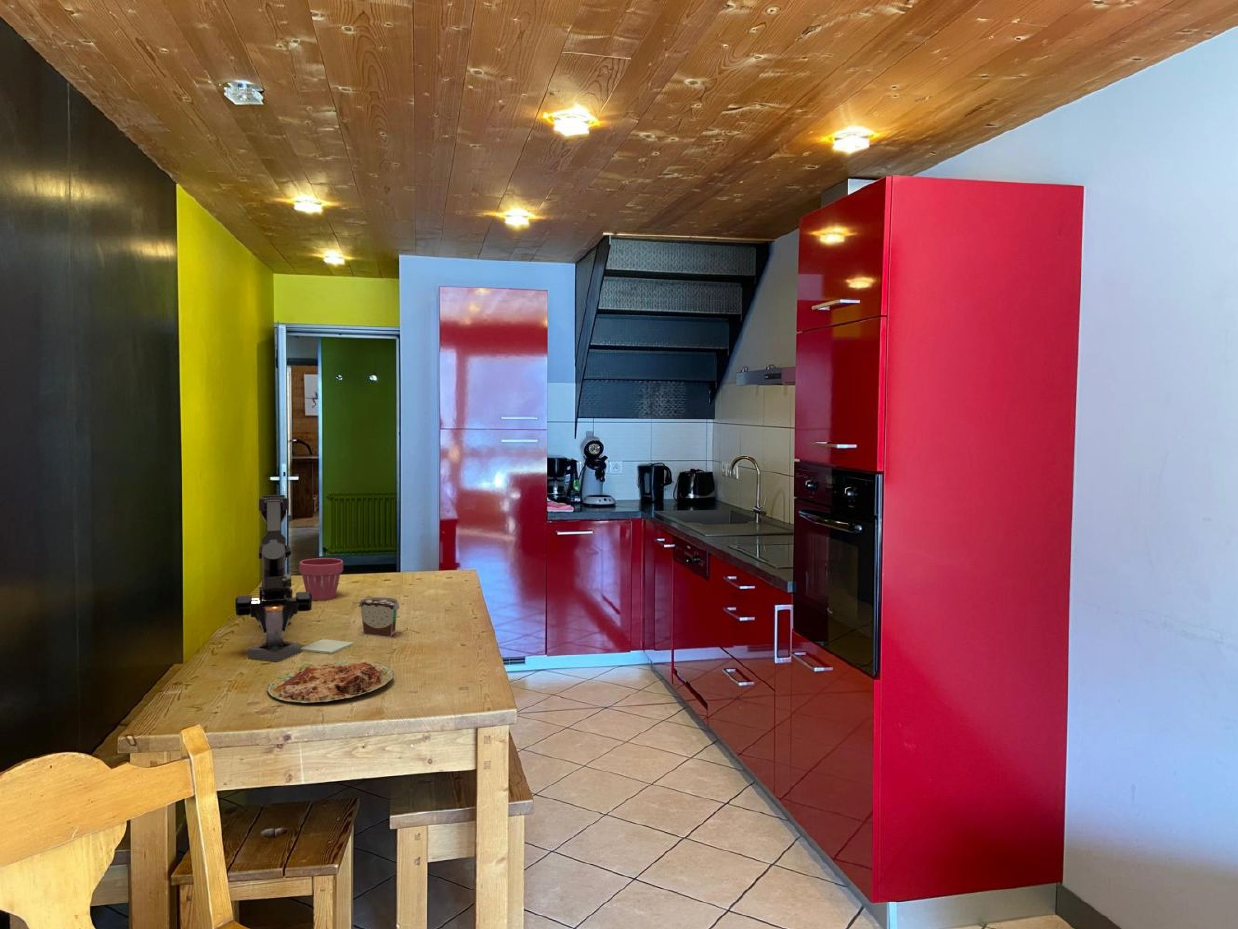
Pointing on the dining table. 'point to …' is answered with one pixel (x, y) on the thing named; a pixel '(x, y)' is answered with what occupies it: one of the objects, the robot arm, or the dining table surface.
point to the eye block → (274, 652)
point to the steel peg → (274, 627)
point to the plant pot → (321, 576)
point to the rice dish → (329, 681)
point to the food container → (379, 616)
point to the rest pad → (327, 646)
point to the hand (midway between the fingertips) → (274, 631)
